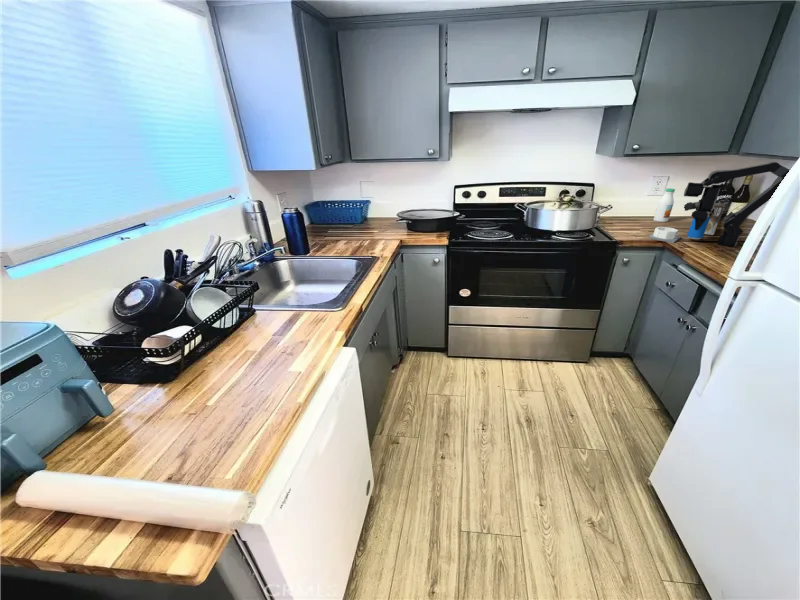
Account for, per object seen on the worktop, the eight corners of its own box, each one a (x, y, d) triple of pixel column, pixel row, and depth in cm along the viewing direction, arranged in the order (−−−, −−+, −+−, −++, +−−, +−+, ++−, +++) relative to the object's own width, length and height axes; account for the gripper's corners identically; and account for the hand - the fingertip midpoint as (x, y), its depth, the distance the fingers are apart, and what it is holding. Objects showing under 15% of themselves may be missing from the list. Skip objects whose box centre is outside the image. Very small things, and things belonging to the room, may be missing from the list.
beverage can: (702, 240, 173) (711, 217, 168) (686, 238, 177) (694, 215, 171) (701, 237, 178) (710, 214, 172) (686, 235, 181) (694, 213, 176)
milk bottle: (656, 222, 215) (667, 189, 206) (650, 219, 222) (660, 187, 213) (670, 222, 214) (681, 189, 205) (663, 219, 220) (674, 187, 211)
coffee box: (714, 233, 191) (725, 203, 183) (713, 235, 186) (725, 205, 179) (693, 230, 196) (704, 202, 189) (692, 232, 192) (703, 204, 185)
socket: (680, 238, 183) (683, 229, 181) (673, 242, 176) (676, 233, 174) (654, 234, 192) (657, 225, 189) (647, 238, 185) (650, 229, 183)
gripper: (693, 193, 179) (683, 222, 186) (684, 198, 168) (673, 229, 175) (721, 195, 171) (709, 226, 178) (712, 200, 161) (700, 233, 168)
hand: (697, 228), depth 175 cm, fingers closed on beverage can, 6 cm apart
